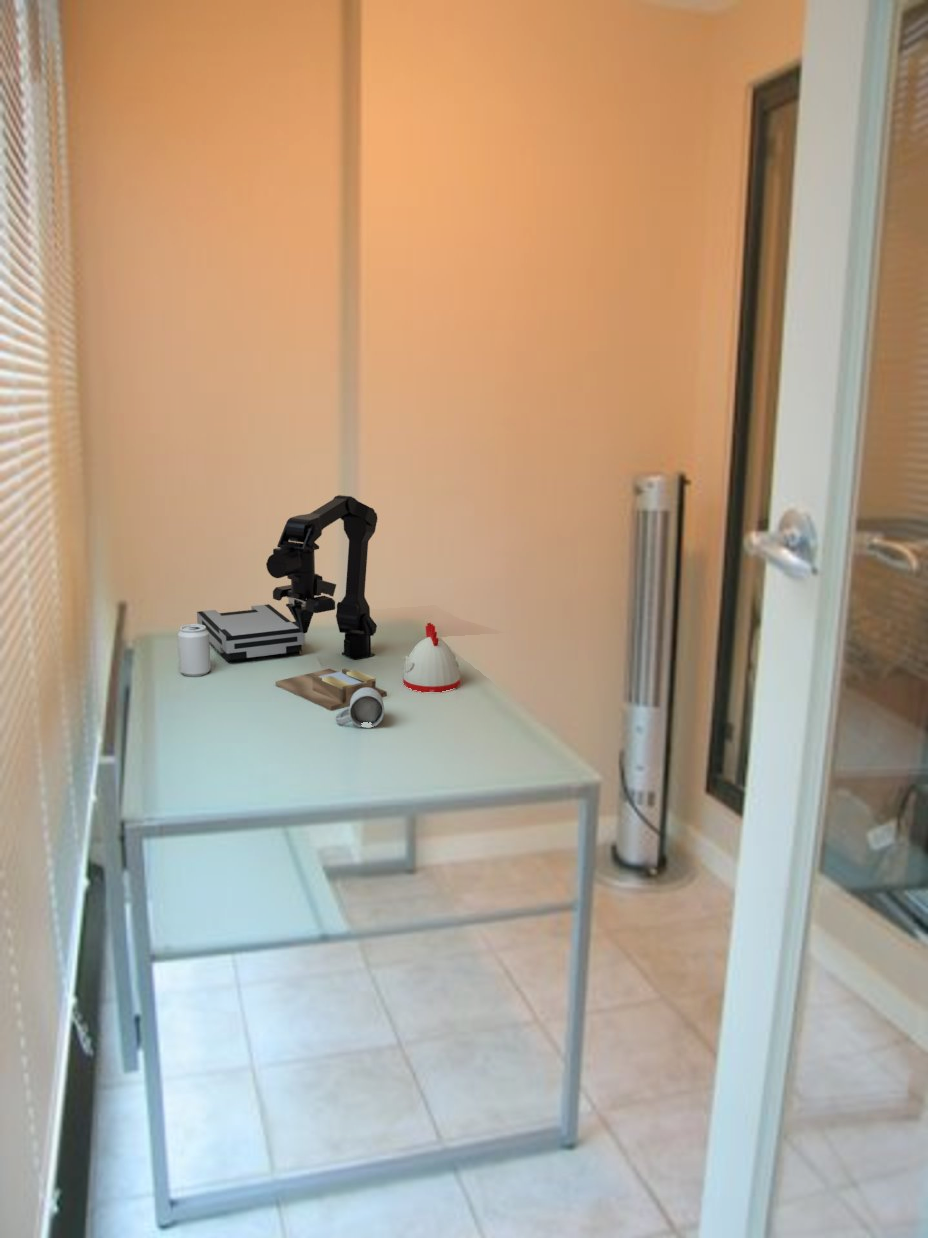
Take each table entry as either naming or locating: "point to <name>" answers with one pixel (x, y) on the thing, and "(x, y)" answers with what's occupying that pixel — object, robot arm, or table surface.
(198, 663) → the can
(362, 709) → the ceramic mug
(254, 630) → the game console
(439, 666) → the kitchen timer
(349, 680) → the blue-grey rectangular block
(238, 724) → the table surface
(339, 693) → the board
